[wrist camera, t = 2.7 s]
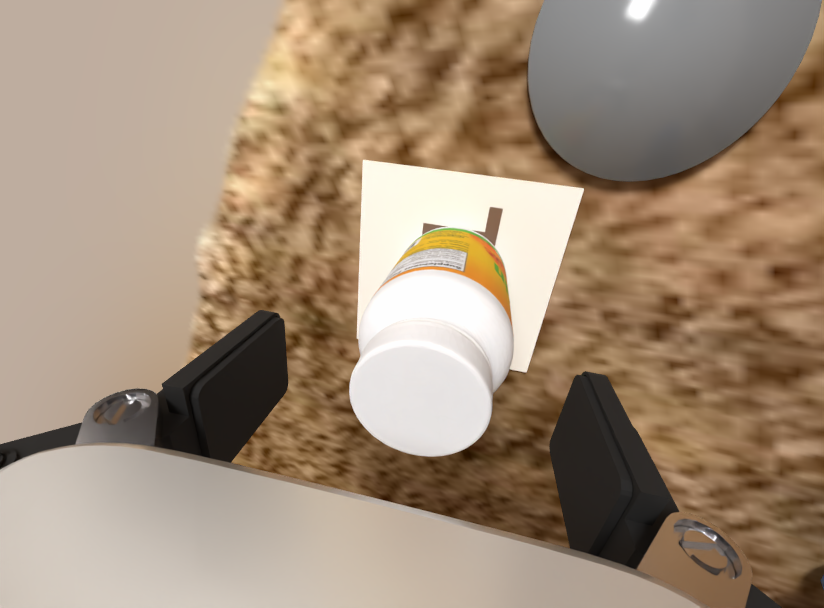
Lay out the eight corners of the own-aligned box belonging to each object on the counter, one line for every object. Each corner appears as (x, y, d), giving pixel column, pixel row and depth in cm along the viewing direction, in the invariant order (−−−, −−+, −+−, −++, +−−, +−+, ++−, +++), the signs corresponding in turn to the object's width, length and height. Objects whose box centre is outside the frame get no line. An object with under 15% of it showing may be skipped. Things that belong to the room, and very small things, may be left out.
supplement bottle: (507, 320, 18) (523, 482, 10) (408, 323, 20) (347, 469, 11) (504, 218, 16) (520, 313, 8) (393, 229, 18) (301, 321, 9)
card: (364, 159, 17) (362, 160, 16) (582, 188, 15) (584, 189, 15) (357, 337, 21) (356, 339, 21) (526, 370, 20) (526, 373, 20)
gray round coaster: (565, -127, 11) (569, -138, 11) (881, -121, 10) (899, -133, 10) (504, 165, 16) (505, 166, 15) (725, 193, 14) (733, 195, 14)
